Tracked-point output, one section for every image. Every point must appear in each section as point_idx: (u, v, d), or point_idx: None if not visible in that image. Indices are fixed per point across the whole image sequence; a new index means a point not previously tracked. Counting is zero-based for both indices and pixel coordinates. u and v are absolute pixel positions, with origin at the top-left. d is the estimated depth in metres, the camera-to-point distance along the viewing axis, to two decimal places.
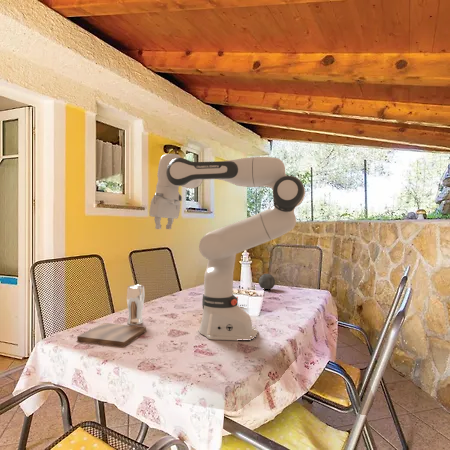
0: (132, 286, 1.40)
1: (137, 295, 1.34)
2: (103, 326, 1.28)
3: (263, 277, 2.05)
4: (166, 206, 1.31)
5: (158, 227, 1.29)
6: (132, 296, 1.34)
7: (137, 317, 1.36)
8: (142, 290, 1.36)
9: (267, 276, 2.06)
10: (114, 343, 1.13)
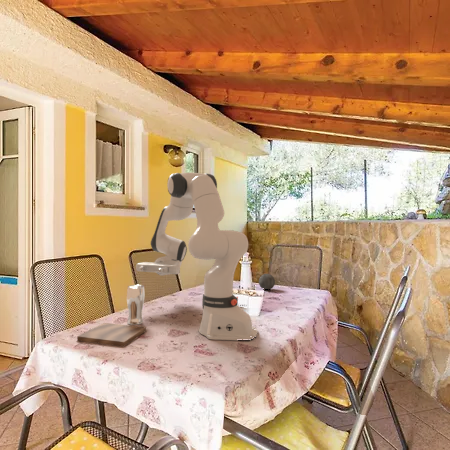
0: (132, 286, 1.40)
1: (137, 295, 1.34)
2: (103, 326, 1.28)
3: (263, 277, 2.05)
4: (154, 263, 1.59)
5: None
6: (132, 296, 1.34)
7: (137, 317, 1.36)
8: (142, 290, 1.36)
9: (267, 276, 2.06)
10: (114, 343, 1.13)
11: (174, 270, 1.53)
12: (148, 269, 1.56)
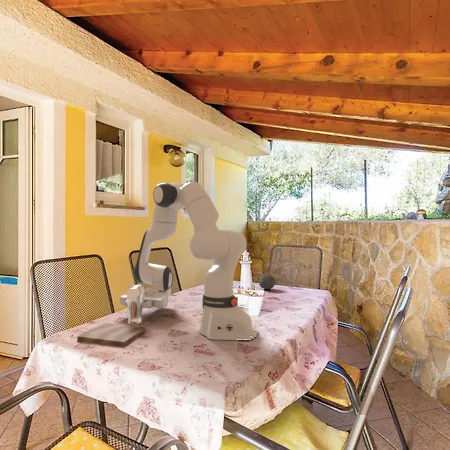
0: (132, 286, 1.40)
1: (137, 295, 1.34)
2: (103, 326, 1.28)
3: (263, 277, 2.05)
4: None
5: None
6: (132, 296, 1.34)
7: (137, 317, 1.36)
8: (142, 290, 1.36)
9: (267, 276, 2.06)
10: (114, 343, 1.13)
11: (161, 304, 1.39)
12: None
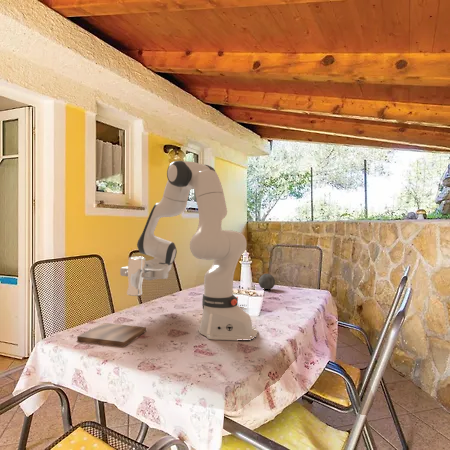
0: (134, 257, 1.39)
1: (138, 266, 1.34)
2: (103, 326, 1.28)
3: (263, 277, 2.05)
4: None
5: None
6: (133, 267, 1.34)
7: (136, 288, 1.35)
8: (143, 262, 1.36)
9: (267, 276, 2.06)
10: (114, 343, 1.13)
11: (161, 275, 1.39)
12: None
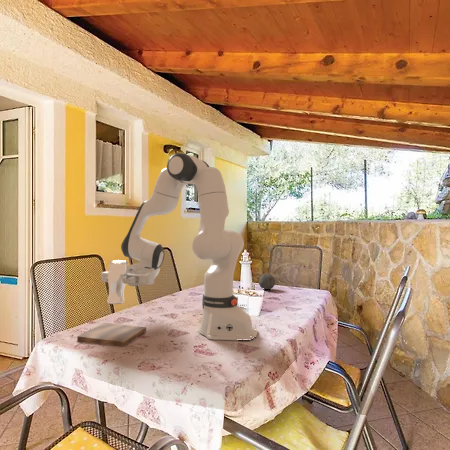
0: (115, 261, 1.26)
1: (119, 271, 1.21)
2: (103, 326, 1.28)
3: (263, 277, 2.05)
4: None
5: None
6: (113, 272, 1.20)
7: (118, 296, 1.22)
8: (125, 266, 1.22)
9: (267, 276, 2.06)
10: (114, 343, 1.13)
11: (146, 280, 1.26)
12: None
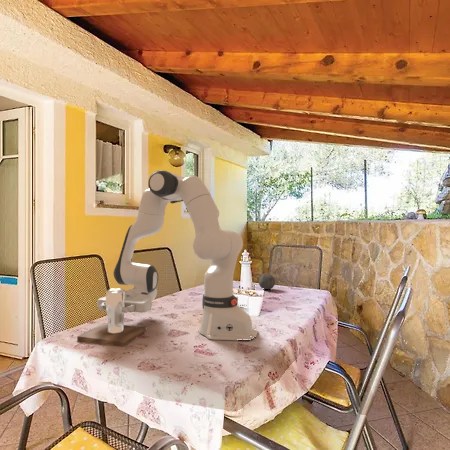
0: (112, 290, 1.24)
1: (116, 300, 1.19)
2: (103, 326, 1.28)
3: (263, 277, 2.05)
4: None
5: None
6: (111, 302, 1.18)
7: (117, 325, 1.20)
8: (122, 295, 1.20)
9: (267, 276, 2.06)
10: (114, 343, 1.13)
11: (142, 308, 1.24)
12: None
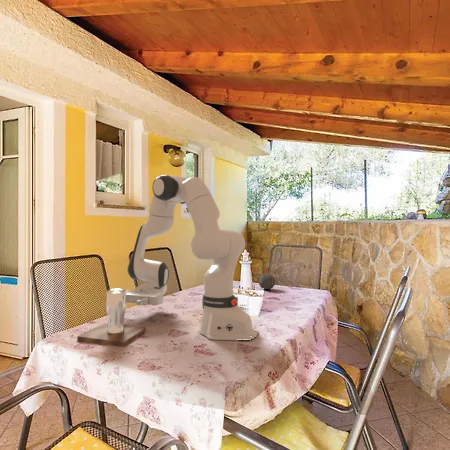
0: (113, 290, 1.24)
1: (117, 301, 1.19)
2: (103, 326, 1.28)
3: (263, 277, 2.05)
4: (133, 292, 1.41)
5: None
6: (111, 302, 1.18)
7: (117, 326, 1.20)
8: (123, 295, 1.20)
9: (267, 276, 2.06)
10: (114, 343, 1.13)
11: (155, 301, 1.34)
12: (126, 299, 1.38)
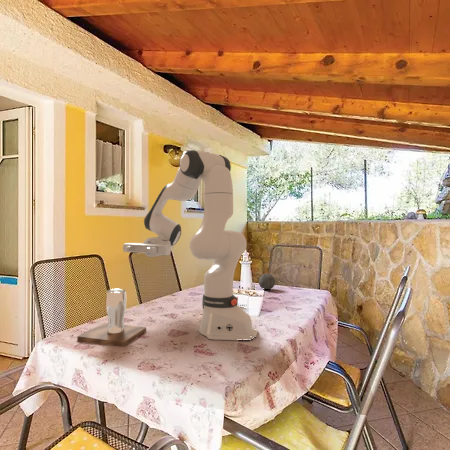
0: (113, 290, 1.24)
1: (117, 301, 1.19)
2: (103, 326, 1.28)
3: (263, 277, 2.05)
4: (142, 244, 1.48)
5: None
6: (111, 302, 1.18)
7: (117, 326, 1.20)
8: (123, 295, 1.20)
9: (267, 276, 2.06)
10: (114, 343, 1.13)
11: (164, 250, 1.41)
12: (136, 249, 1.44)
